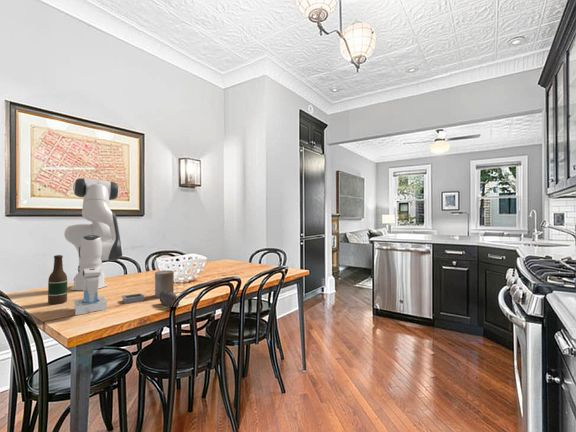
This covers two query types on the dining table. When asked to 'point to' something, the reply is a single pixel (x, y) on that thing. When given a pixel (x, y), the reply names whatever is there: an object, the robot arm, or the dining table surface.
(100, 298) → the block
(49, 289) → the beer bottle
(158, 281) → the pillar candle
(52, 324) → the dining table surface
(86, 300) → the plug
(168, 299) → the perforated stone tool
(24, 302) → the dining table surface
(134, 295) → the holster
